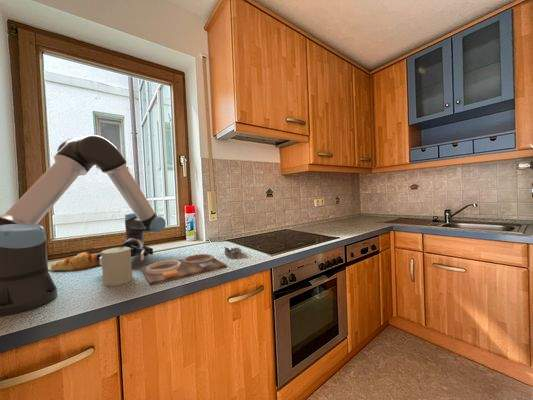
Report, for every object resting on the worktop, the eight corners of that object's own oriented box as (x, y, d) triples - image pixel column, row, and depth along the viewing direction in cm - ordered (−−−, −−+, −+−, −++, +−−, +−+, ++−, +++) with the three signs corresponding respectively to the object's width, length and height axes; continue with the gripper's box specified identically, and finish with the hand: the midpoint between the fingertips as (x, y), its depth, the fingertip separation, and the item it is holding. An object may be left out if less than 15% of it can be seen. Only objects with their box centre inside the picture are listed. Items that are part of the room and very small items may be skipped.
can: (137, 275, 90) (135, 245, 89) (123, 285, 81) (121, 251, 80) (113, 276, 90) (111, 246, 89) (96, 286, 80) (94, 252, 80)
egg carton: (223, 254, 118) (223, 246, 118) (238, 252, 120) (238, 244, 120) (226, 259, 108) (226, 251, 108) (242, 257, 110) (242, 249, 110)
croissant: (49, 281, 97) (43, 267, 93) (55, 264, 105) (51, 250, 101) (109, 271, 106) (107, 257, 102) (111, 256, 114) (109, 243, 110)
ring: (152, 280, 81) (152, 276, 81) (144, 268, 96) (144, 264, 96) (188, 272, 89) (188, 268, 89) (175, 261, 103) (175, 258, 103)
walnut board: (150, 285, 80) (149, 278, 80) (140, 269, 97) (140, 263, 97) (226, 266, 97) (226, 260, 97) (207, 256, 114) (206, 251, 114)
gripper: (161, 251, 114) (158, 264, 94) (100, 258, 104) (82, 274, 85) (160, 236, 113) (157, 245, 94) (99, 242, 104) (81, 253, 84)
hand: (121, 259), depth 89 cm, fingers open, 13 cm apart
